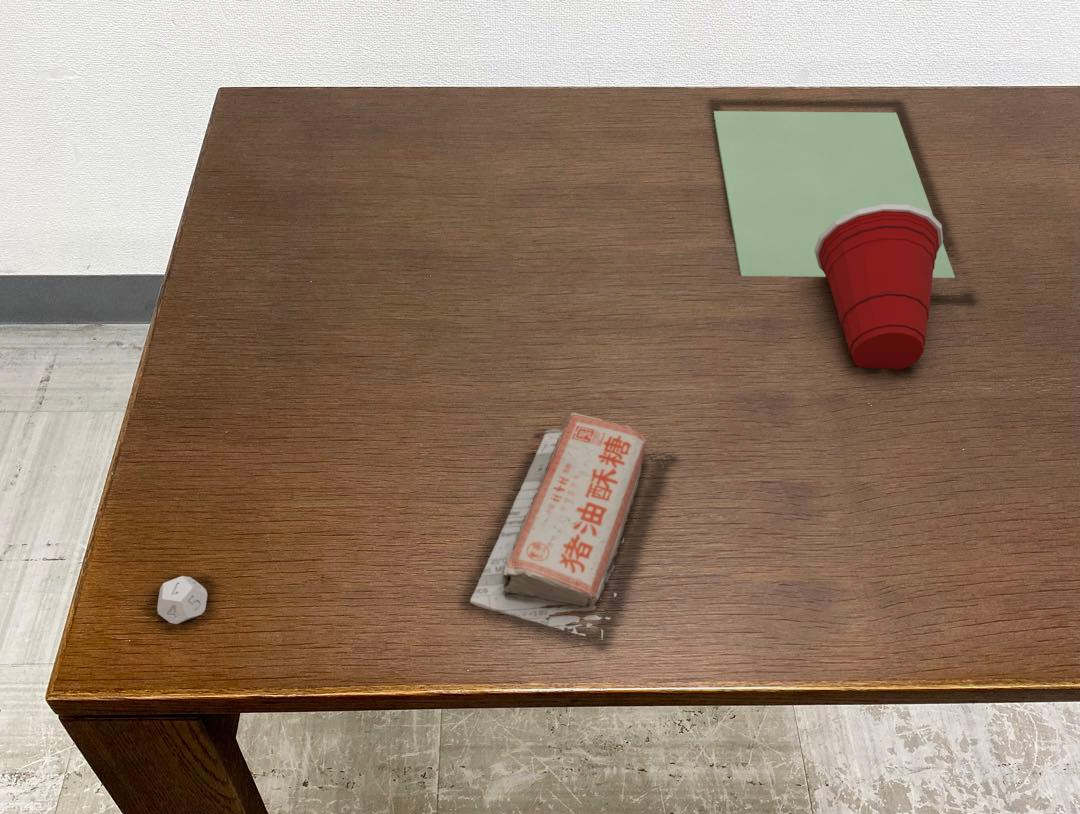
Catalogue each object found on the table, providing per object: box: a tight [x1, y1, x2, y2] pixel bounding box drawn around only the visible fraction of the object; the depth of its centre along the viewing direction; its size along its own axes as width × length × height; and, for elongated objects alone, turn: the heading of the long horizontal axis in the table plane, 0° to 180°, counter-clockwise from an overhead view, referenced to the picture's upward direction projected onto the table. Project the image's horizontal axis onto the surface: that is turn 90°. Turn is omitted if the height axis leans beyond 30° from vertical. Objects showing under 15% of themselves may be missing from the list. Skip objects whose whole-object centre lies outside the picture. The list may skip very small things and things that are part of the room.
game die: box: [156, 575, 208, 625], centre depth 73 cm, size 4×4×3 cm
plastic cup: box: [814, 204, 944, 370], centre depth 88 cm, size 11×11×12 cm
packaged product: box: [469, 411, 647, 639], centre depth 77 cm, size 18×5×10 cm
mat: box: [713, 110, 956, 279], centre depth 103 cm, size 20×32×1 cm, turn 0°
